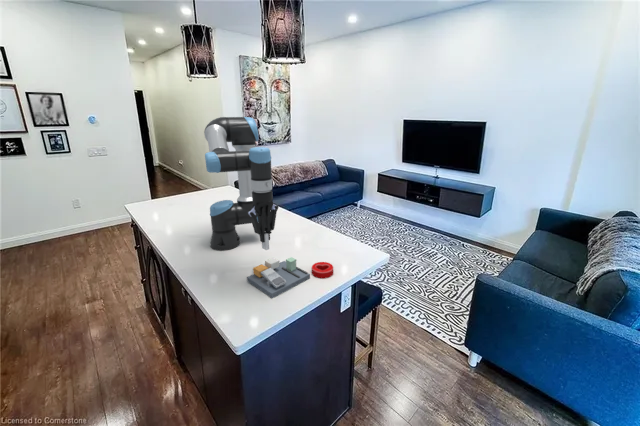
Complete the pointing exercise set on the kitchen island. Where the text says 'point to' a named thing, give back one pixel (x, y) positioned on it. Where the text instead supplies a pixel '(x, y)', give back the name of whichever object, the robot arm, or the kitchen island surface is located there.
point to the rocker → (273, 277)
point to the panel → (289, 276)
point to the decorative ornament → (322, 270)
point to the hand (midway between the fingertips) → (265, 248)
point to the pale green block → (291, 264)
